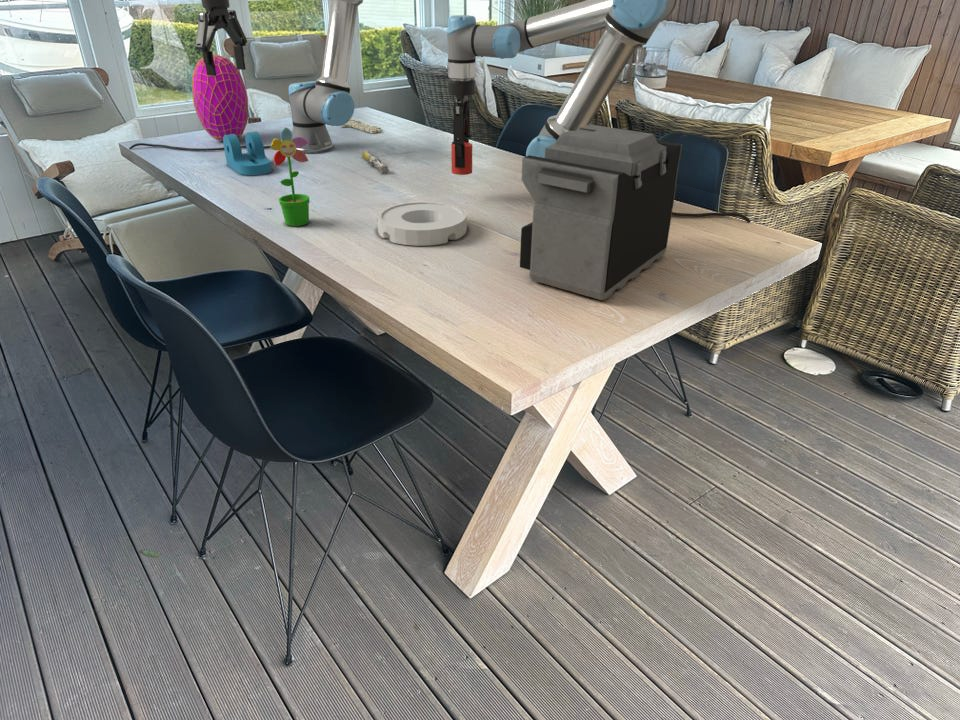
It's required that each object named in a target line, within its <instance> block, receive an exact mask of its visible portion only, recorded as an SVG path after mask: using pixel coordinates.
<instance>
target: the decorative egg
mask: <svg viewBox="0 0 960 720" xmlns="http://www.w3.org/2000/svg"><path fill="white" fill-rule="evenodd" d="M213 59H214V64H215V70H216V76H211V75H207V71H206V66H205V63H204V59H203V57H201V58H199V60H197V62H196V65H195V67H194V69H193V72H192V78H191V91H192V93H191V94H192V102H193V106H194V110H195V112H196V115H197V118H198V119H199V122H200V125H202V128H203V129H204V130H205V132H206V133H207V134H208V135H209V137H212V139H214V140H216V141H220V142H223V137H224V135H230V134H235V135H236V136H237V138H238V139H240V138H241V137H242V135H243V134H244V132H245V129H246V127H247V124H248V120H249V98H248V97H249V96H248V91H247V88H246V84H245V82H244V79H243V76H242V74H241V72H240V71H239V69H237V66H236V64H234V62H233V61H231V60H230V59H229V58H228V57H225V56H223V55H220V54H213Z"/></svg>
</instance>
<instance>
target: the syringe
mask: <svg viewBox="0 0 960 720" xmlns="http://www.w3.org/2000/svg"><path fill="white" fill-rule="evenodd" d="M361 155H362V158H363V159H364V160H366V161H367V162H368V163H369V164H370V166H371V167H373V168H374V167H375V168H377V169H378V170H379V172H381V174H383V175H384V174H387V173H388V172H390V170H389V168H388V166H387V165H384V164H383V163H382V160H381V159H379V158H377V157H376V156H374V155H373V154H372V153H370V151H369V150H367V149H365V150H363V151H362V154H361Z"/></svg>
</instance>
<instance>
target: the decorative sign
mask: <svg viewBox="0 0 960 720" xmlns="http://www.w3.org/2000/svg"><path fill="white" fill-rule="evenodd" d="M361 122H362V121H361V120H356V118H351V119H350V120H349V121H348V122H347V123H346V124H344V125H342V126H341V127H342V128H346V127H347V128H354V129H358V130H360V131H365V132H366V133H370V134H376V133H381V131H382V130H381V129H382V127H381V126H377V125H370V124H369V123H361Z"/></svg>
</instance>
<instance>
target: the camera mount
mask: <svg viewBox="0 0 960 720" xmlns="http://www.w3.org/2000/svg"><path fill="white" fill-rule="evenodd" d="M222 143H223V148H224V150H223V151H224V156H225V161H226V165H227V166H228V167H230V168H231V169H232V170H234V171H236V172H237V173H238V174H239V175H244V176H260V175H265V174H268V173H271V172H272V164H271V159H270V158H268V157H267V156H266V153H265V148H264V146H265V145H264V141H263V139H262V136H261V134H260V132H258V131H247V132H246V133H245V146H246V147H247V148H246V152H243V151H242V150H243V149H242V148H241V146H242V145H241V142H240V140H239V138H237V136H236V135H235V134H230V135H224V137H223V141H222Z"/></svg>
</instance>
